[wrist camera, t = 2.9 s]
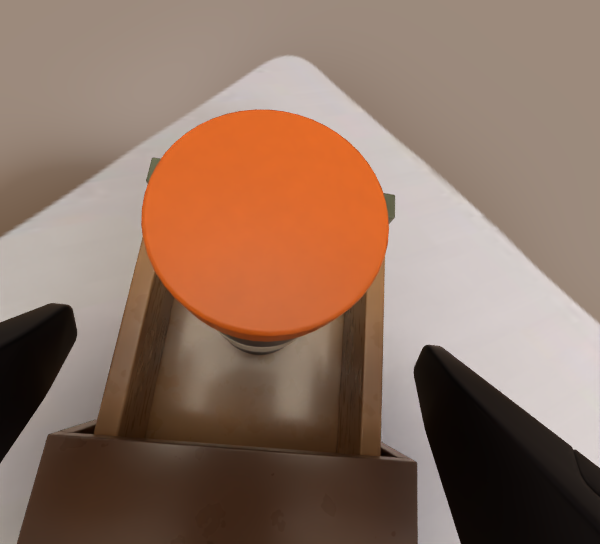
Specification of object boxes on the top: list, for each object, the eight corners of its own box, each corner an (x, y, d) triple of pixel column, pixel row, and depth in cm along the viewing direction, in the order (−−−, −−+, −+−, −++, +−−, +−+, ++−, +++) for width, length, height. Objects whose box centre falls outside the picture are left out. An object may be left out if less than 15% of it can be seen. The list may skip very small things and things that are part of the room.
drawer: (188, 147, 20) (170, 85, 15) (367, 176, 21) (396, 125, 16) (117, 462, 15) (61, 500, 11) (354, 479, 16) (391, 519, 12)
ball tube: (324, 318, 17) (437, 234, 6) (252, 378, 16) (246, 397, 5) (268, 250, 17) (289, 72, 7) (195, 303, 16) (86, 183, 6)
